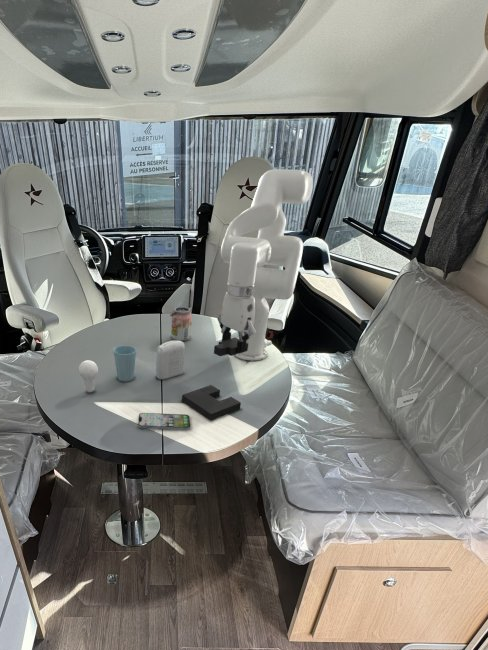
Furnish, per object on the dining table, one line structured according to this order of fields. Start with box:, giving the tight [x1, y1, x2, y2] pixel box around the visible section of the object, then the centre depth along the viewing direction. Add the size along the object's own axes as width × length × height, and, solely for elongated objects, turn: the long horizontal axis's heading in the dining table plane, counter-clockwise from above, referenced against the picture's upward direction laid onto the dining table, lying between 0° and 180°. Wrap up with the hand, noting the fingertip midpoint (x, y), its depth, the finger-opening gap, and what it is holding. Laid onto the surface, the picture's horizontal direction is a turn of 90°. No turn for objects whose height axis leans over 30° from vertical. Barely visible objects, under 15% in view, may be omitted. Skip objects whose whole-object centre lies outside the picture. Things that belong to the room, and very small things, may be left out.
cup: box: [113, 344, 137, 382], centre depth 150 cm, size 8×8×10 cm
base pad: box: [181, 384, 242, 422], centre depth 138 cm, size 12×14×2 cm
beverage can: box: [169, 306, 193, 342], centre depth 179 cm, size 9×8×12 cm
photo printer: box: [155, 340, 186, 380], centre depth 151 cm, size 10×4×12 cm, turn 123°
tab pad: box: [213, 337, 248, 357], centre depth 136 cm, size 10×6×2 cm, turn 124°
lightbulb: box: [78, 359, 99, 393], centre depth 142 cm, size 6×6×11 cm
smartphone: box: [138, 412, 191, 431], centre depth 130 cm, size 7×1×15 cm
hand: (232, 348), depth 137 cm, fingers closed on tab pad, 6 cm apart
